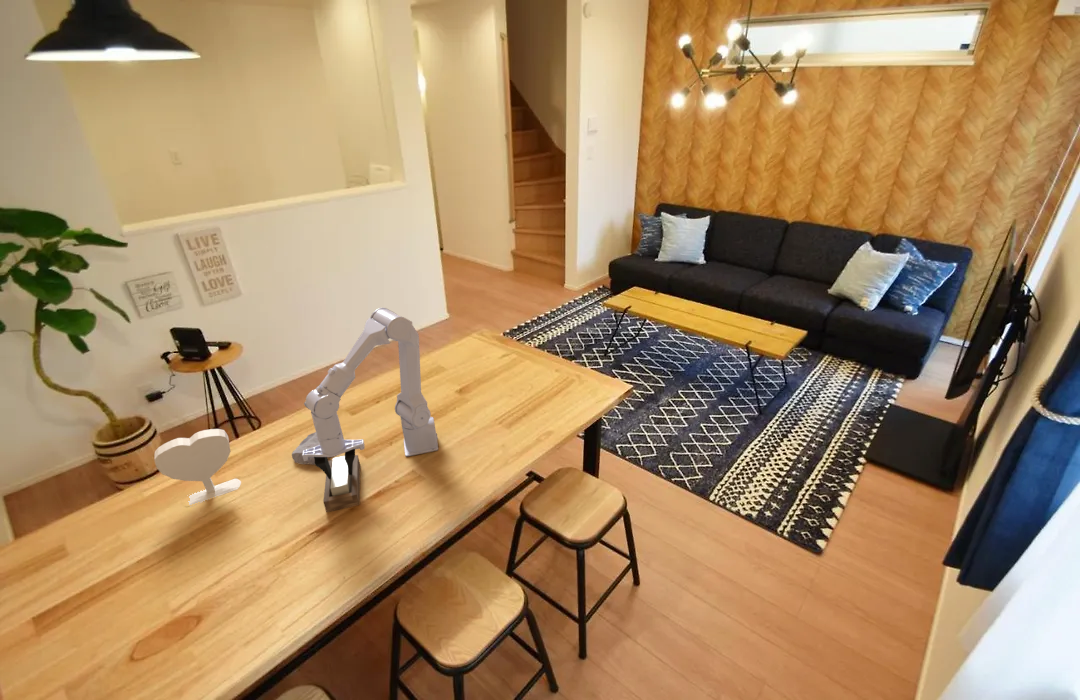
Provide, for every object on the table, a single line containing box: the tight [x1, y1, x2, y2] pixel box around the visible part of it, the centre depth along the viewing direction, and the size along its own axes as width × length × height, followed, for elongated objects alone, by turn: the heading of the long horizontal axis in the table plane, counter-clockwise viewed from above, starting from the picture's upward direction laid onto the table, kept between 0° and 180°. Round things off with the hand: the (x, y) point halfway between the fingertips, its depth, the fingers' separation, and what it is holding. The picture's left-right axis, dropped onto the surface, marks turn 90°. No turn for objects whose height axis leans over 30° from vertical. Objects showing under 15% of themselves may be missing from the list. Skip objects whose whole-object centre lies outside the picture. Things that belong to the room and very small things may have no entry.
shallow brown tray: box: [323, 454, 361, 513], centre depth 130 cm, size 8×16×4 cm, turn 17°
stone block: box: [291, 431, 320, 465], centre depth 143 cm, size 12×5×10 cm
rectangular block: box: [330, 455, 351, 496], centre depth 129 cm, size 4×12×4 cm, turn 17°
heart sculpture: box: [154, 428, 242, 505], centre depth 125 cm, size 16×5×18 cm, turn 124°
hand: (340, 474), depth 128 cm, fingers open, 4 cm apart
